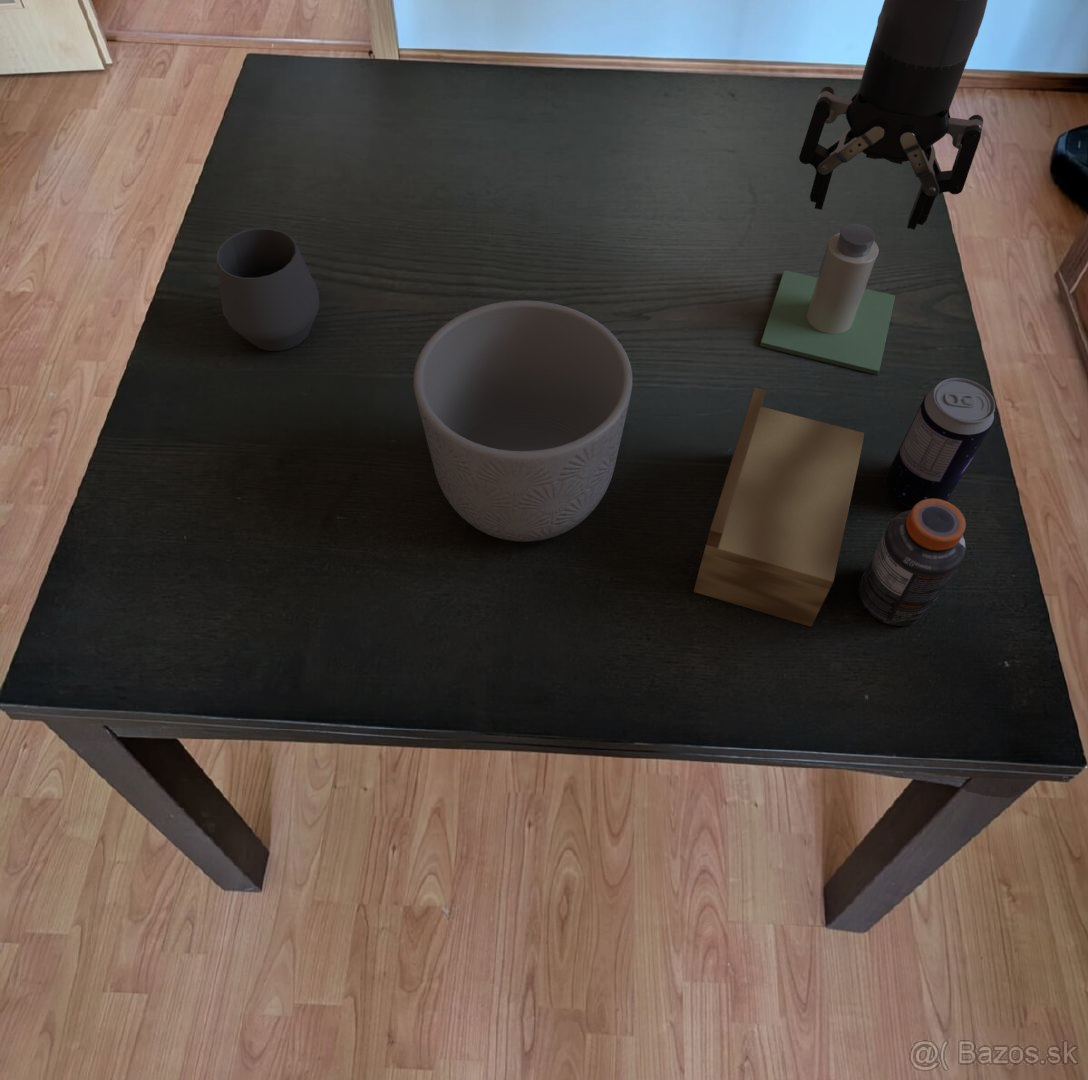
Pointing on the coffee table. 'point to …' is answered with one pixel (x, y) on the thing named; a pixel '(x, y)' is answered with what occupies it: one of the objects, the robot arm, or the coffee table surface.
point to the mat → (844, 349)
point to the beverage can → (941, 441)
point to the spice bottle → (842, 279)
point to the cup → (266, 288)
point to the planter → (523, 415)
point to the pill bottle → (913, 562)
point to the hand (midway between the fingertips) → (865, 214)
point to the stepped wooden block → (781, 514)
